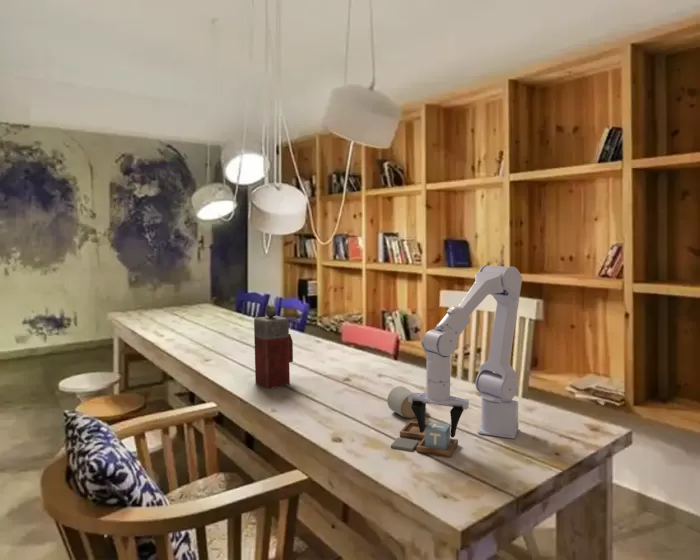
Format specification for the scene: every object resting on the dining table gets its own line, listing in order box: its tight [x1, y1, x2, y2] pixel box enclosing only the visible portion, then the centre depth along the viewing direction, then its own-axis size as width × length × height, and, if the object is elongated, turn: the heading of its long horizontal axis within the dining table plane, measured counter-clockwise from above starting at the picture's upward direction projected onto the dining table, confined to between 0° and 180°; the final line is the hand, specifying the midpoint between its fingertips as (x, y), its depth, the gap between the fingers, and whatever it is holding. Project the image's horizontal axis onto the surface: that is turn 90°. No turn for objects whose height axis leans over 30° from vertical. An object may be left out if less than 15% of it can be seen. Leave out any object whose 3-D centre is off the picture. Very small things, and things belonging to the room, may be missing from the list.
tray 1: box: [399, 420, 429, 441], centre depth 141 cm, size 8×8×1 cm
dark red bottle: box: [253, 304, 294, 390], centre depth 187 cm, size 9×11×28 cm
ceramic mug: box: [386, 385, 428, 419], centre depth 156 cm, size 11×8×8 cm
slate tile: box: [390, 436, 420, 452], centre depth 133 cm, size 6×6×1 cm
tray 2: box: [416, 437, 459, 458], centre depth 131 cm, size 8×8×1 cm
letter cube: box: [425, 421, 451, 450], centre depth 131 cm, size 5×5×5 cm
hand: (437, 433), depth 131 cm, fingers open, 7 cm apart
